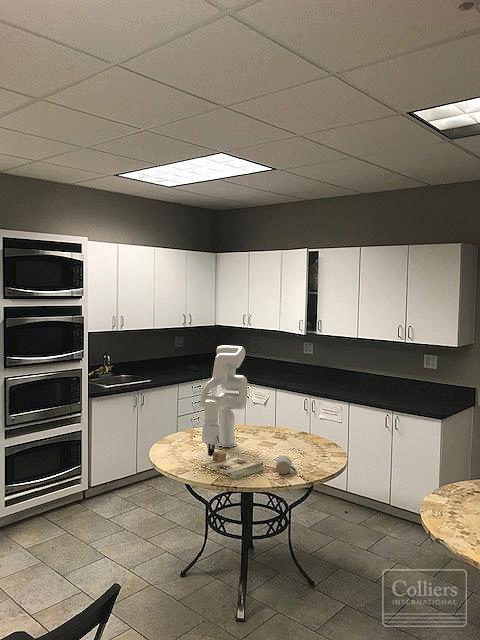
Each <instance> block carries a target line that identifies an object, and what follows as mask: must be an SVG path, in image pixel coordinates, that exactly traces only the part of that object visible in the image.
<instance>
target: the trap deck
mask: <svg viewBox="0 0 480 640" xmlns="http://www.w3.org/2000/svg"><path fill="white" fill-rule="evenodd" d="M237 462H239V463H237ZM241 463H242V464H241ZM201 465H203V466H205V467H208V468H210V469H213V470H215V471H218V472H221V473H224V474H226V475H229V476H231V477H233V478H232V479H234V478H238V479H240V477H241V478H243V476H244V477H246V475H247V476H249V475H252V474H254V473H255V474H256V473H258V472H261V471H263V470H264V462H263V461H260V462H256V463H255V462H252V461H249V460H245V459H243V458H239V457H237V456H233V455H230V454H226V460H225V461H222V462H217V461H214V460H213V458H212V459H210V460H205V461H203V462H202V461H201V462H200V466H201ZM219 467H225V468H228V469H225V468H224V469H223V468H219ZM215 471H214V472H215ZM226 475H225V476H226ZM231 477H230V478H231Z"/></svg>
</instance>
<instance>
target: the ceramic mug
mask: <svg viewBox="0 0 480 640" xmlns="http://www.w3.org/2000/svg"><path fill="white" fill-rule="evenodd" d="M275 465H276V466H275V468H276V472H277V473H279V474H280V475H287V474H289V473H290V474H293V475H295V474H297V472H298V470H297V468H296V467H295V466H293V465H292V460H291V458H290V457H288V456H286V455H281V456H279V457H277V460H276V464H275Z"/></svg>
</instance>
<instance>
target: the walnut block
mask: <svg viewBox="0 0 480 640" xmlns="http://www.w3.org/2000/svg"><path fill="white" fill-rule="evenodd" d="M226 455H227V452H224V451H221V450H218V451H214V453H213V456H212V459H213V460H214V461H217V462H222V461H225V460H226Z"/></svg>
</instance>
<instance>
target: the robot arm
mask: <svg viewBox="0 0 480 640" xmlns="http://www.w3.org/2000/svg"><path fill="white" fill-rule="evenodd" d="M245 356H246V348H245V347H243V346H239V345H219V346H217V348H216V356H215V357H214V358H215V359H214V364H213V371H212V376H211V379H209V380H208V382H206V383H205V385H204V386H203V388H202V391H201V394H200V404H199V406H200V408H202V409H203V410H204V418H203V419H204V423H203V425H202V431H201V432H202V433H201V441H202V442H203V443H204V444H206V448H207V456H209V457H213V453H214V452H215V449H216V447H217V448H218V447H219V446H223V447H222V448H224V447H229V448H233V446H234V447H236V446H238V442H237V441H236V440H235V424H236V423H235V421H236V419H235V417H236V416H235V413H234V412H233V410H236V411H237V410H240V411H241V410H245V409H246V406H247V400H248V399H247V398H248V397H247V396H248V379H247V377H246V376H245V375H243V374H242V375H241V374H236V371H237V369H239V368H240V366H241V365H242V363H243V361H244V359H245ZM219 385H220V387H221V389H222V390H224V391H228V392H222V393H220V394H218V395H217V396H212V395H209V392H210V391H211V390H212V389H213V388H216V387H217V386H219ZM231 391H232V392H231ZM233 391H234V392H233ZM236 392H237V393H236Z"/></svg>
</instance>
